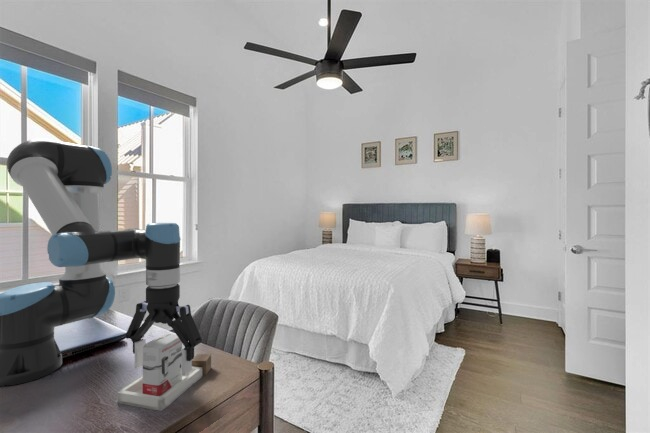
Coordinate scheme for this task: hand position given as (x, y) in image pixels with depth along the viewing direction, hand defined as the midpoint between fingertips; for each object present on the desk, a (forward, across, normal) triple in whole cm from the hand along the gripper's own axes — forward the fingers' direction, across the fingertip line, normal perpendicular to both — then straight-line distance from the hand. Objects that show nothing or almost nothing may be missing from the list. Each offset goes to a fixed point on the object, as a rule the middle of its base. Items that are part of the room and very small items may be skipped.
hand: (163, 369), depth 79 cm
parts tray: (+5, 0, 0) cm, 5 cm away
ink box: (+4, 0, 0) cm, 5 cm away
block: (+5, +4, +10) cm, 12 cm away
